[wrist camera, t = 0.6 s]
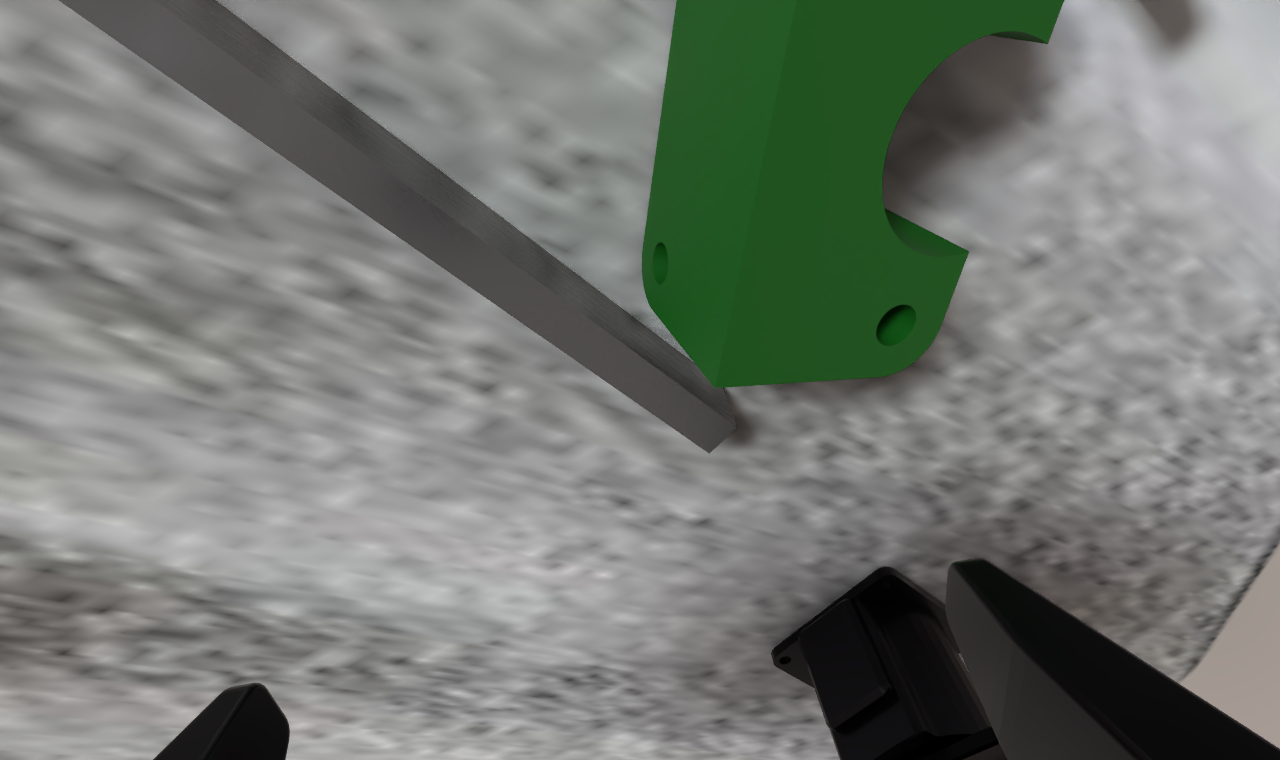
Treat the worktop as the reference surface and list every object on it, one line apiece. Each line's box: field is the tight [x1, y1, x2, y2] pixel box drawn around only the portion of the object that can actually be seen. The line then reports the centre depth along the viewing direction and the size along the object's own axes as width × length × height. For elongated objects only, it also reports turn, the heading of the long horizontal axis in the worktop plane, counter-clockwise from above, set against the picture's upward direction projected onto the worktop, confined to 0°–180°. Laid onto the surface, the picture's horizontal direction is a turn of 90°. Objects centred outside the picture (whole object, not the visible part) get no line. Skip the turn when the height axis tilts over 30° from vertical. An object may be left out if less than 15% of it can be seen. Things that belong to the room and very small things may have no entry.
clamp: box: [642, 0, 1064, 388], centre depth 16 cm, size 12×6×9 cm, turn 167°
